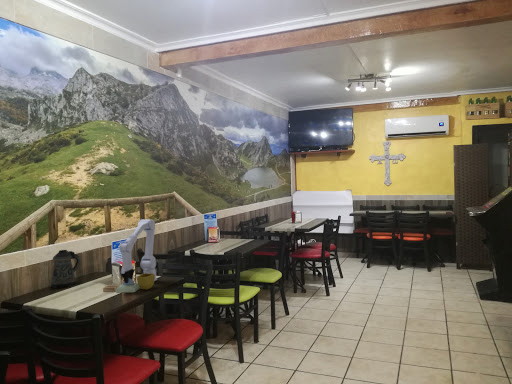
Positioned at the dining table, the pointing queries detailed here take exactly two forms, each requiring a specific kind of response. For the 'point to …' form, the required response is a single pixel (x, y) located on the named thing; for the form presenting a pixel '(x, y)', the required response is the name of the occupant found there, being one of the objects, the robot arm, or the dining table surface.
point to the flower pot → (145, 280)
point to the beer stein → (64, 269)
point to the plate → (129, 282)
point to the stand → (110, 288)
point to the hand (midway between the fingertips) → (128, 281)
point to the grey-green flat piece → (128, 288)
